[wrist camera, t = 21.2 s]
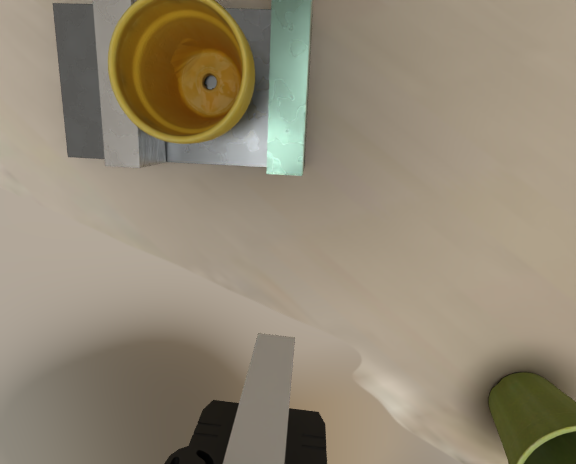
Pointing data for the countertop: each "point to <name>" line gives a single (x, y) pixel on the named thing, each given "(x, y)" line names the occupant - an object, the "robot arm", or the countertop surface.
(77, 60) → the vise base
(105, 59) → the steel jaw
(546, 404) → the plant pot
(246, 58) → the plant pot
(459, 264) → the countertop surface
